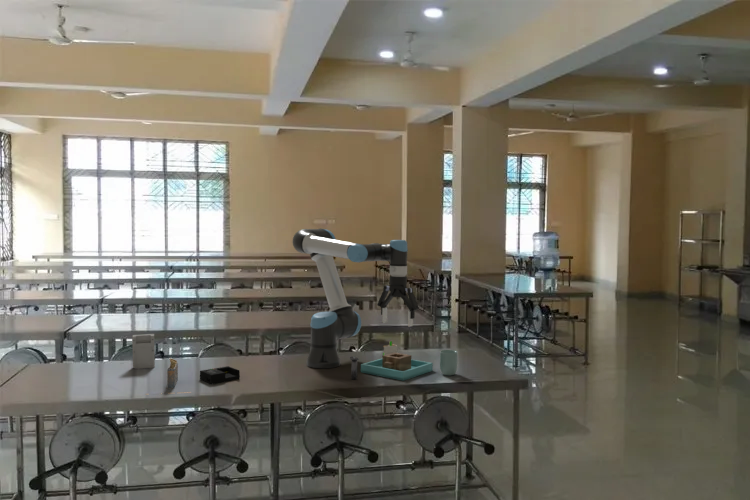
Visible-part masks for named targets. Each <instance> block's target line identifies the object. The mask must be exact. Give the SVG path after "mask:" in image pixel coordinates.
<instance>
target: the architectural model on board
mask: <svg viewBox="0 0 750 500" xmlns="http://www.w3.org/2000/svg"><path fill="white" fill-rule="evenodd" d="M168 360H169V362H170V363H169V366H168V368H167V370H166V371H167V372H166V374H167V376H166V379H167V382H166V383H167V385H166V389H168V390H169V389H175V387H176V385H177V383H178V381H179V374H178V373H179V368H178V367H179V366H178V365H179V362H178V360H177V359H175V358H171V357H169V359H168ZM160 393H161V394H160V395H163V394H162V393H163V392H160ZM167 393H168V395H169V394H172V395H173V394H174V392H167ZM191 393H192V391H189V392H188V391H186V392H185V391H183V392H178V394H191ZM145 395H147V396H148V393H145Z"/></svg>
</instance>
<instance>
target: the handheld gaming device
mask: <svg viewBox="0 0 750 500" xmlns="http://www.w3.org/2000/svg"><path fill="white" fill-rule="evenodd" d="M131 336H132V338H131V340H132V341H131V342H132V344H131V345H132V367H133V369H135V370H136V369H137V370H138V369H152V368H156V365H155V363H156V362H155V359H156V357H155V355H156V354H155V333H145V334H132V335H131Z"/></svg>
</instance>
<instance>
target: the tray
mask: <svg viewBox="0 0 750 500" xmlns="http://www.w3.org/2000/svg"><path fill="white" fill-rule="evenodd" d="M382 358H383V357H382ZM382 358H379V359H375V360H370V361H368V362H364V363H361V364H360V373H361V374H362V373H363V374H367V375H372V376H377V377H383V378H387V379H394V380H397V381H401V382H403V381H407V380H410V379H413V378H416V377H419V376H422V375H424V374H427V373H430V372H433V370H434V369H433V368H434V367H433V365H434V363H433V362H430V361H424V360H419V359H418V360H417V359H412V358H411V369H409V370H405V371H398V370H393V369H388V368H382Z"/></svg>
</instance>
